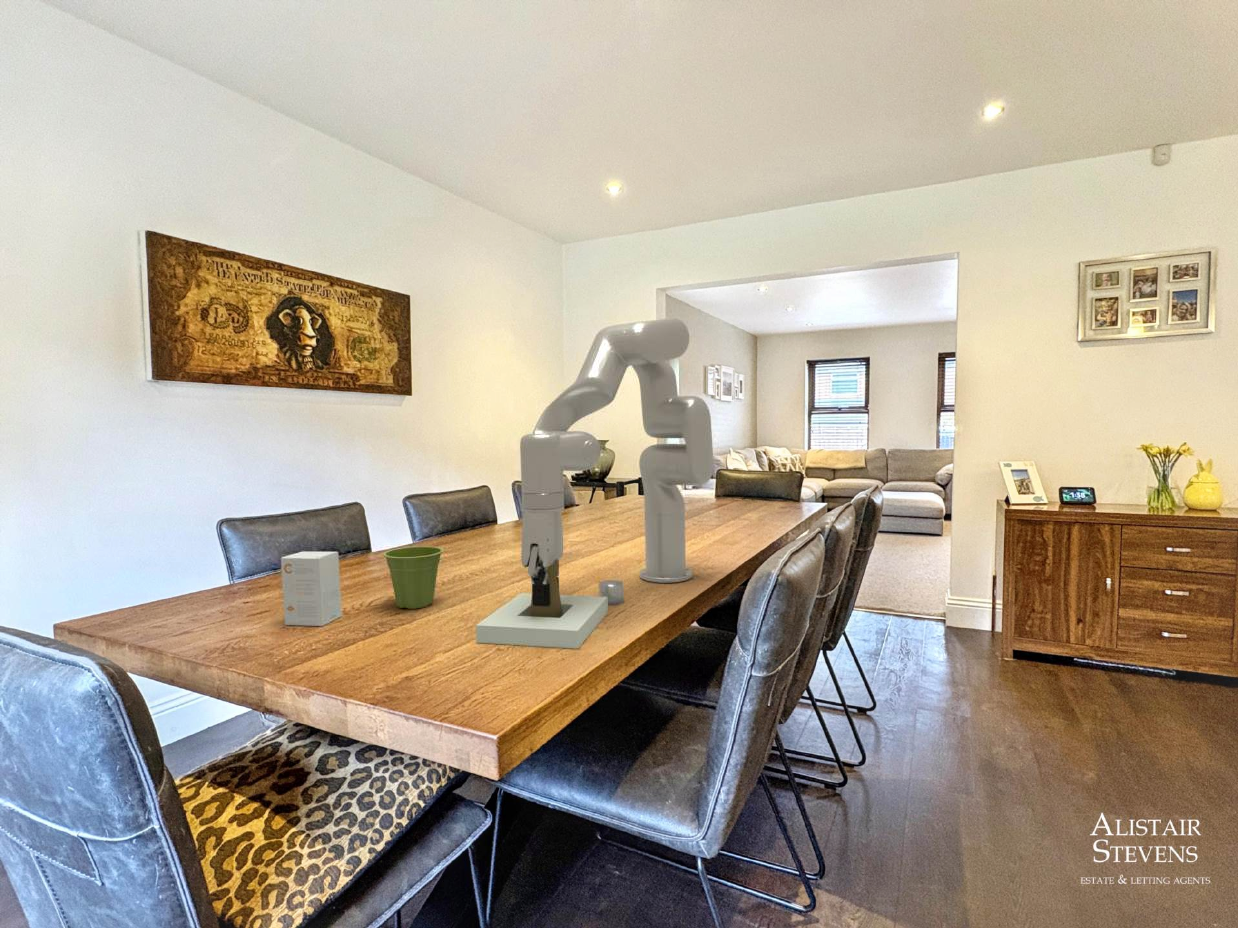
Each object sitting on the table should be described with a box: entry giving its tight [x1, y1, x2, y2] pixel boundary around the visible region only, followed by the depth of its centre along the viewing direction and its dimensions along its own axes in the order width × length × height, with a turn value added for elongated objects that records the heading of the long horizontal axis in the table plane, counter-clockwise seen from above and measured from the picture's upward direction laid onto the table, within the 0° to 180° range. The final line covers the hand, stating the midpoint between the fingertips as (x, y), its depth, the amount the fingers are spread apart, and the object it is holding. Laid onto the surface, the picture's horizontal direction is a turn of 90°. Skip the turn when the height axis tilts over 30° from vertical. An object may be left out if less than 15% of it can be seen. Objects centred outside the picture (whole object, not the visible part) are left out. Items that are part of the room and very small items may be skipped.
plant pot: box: [382, 545, 444, 610], centre depth 128 cm, size 12×12×11 cm
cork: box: [530, 559, 563, 618], centre depth 112 cm, size 6×6×11 cm
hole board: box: [475, 592, 609, 650], centre depth 112 cm, size 20×18×3 cm
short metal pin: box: [598, 579, 625, 606], centre depth 127 cm, size 5×5×4 cm
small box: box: [280, 551, 343, 627], centre depth 118 cm, size 8×6×13 cm
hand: (546, 600), depth 112 cm, fingers closed on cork, 4 cm apart
